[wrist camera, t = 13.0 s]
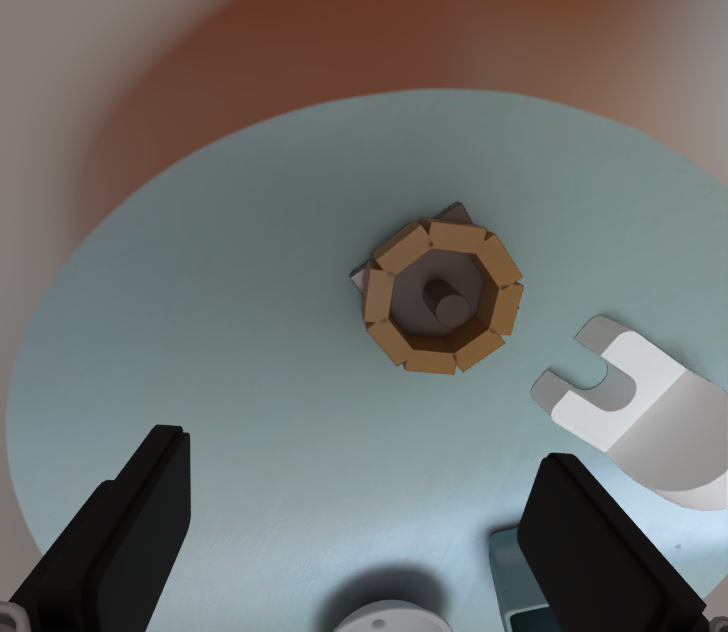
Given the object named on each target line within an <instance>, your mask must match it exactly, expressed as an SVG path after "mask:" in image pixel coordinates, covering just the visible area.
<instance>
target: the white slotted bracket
mask: <svg viewBox="0 0 728 632" xmlns="http://www.w3.org/2000/svg"><path fill="white" fill-rule="evenodd" d="M574 339H576V340H577V341H579V342H580V343H582V344H583V345H585V346H586V347H588V348H589V349H591V350H592V351H593V352H595V353H596V354H598V355H599V356H601V357H602V358H603V359H604V360H605V361H606V363H607V365H608V372H607V375H606V377H605V379H604V380H603V382H602V383H600V384H599V385H598V386H596V387H595V388H592V389H589V390H580V389H577V388H575V387H574V386H572V385H571V384H569V383H567V382H566V381H564V380H563V379H561V378H560V377H558V376H557V375H555V374H553V373H552V372H550V371H549V370H546V372H545V373H544V374H543V375H542V376H541V377H540V378H539V380H538V381H537V382H536V383H535V384H534V386H533V387H532V390H531V395H532V397H533V399H534V400H535V401H536V402H537V403H538V404H539V405H540V406H541V408H542V409H543V410H544V411H545V412H546V413H547V414H548V415H549V417H550V418H551V419H552V420H553V421H554V422H555V423H557V424H558V425H560V426H562V427H563V428H565V429H567V430H568V431H570V432H572V433H573V434H575V435H577V436H578V437H580V438H582V439H583V440H585V441H587V442H588V443H590V444H591V445H593V446H595V447H596V448H598V449H600V450H601V451H603V452H605V453H606V454H607V455H608V456H609V457H610V458H611V459H612V460H613V461H614V462H615V463H616V464H617V465H618V467H619V468H620V469H621V470H622V471H623V472H625V473H626V474H627V475H628V476H630V477H631V478H632V479H633V480H635V481H636V482H638V483H639V484H641V485H643V486H644V487H646V488H648V489H649V490H651V491H653V492H654V493H656V494H658V495H659V496H661V497H663V498H664V499H666V500H668V501H670V502H673V503H675V504H677V505H679V506H682V507H685V508H690V509H695V510H700V511H709V510H723V509H727V508H728V394H727V393H726V392H725V391H723V390H722V389H720V388H719V387H718V386H716V385H715V384H713V383H712V382H710V381H708V380H706V379H704V378H702V377H700V376H699V375H697V374H695V373H693V372H691V371H689V370H687V369H686V368H685V367H683V366H682V365H680V364H679V363H678V362H676V361H675V360H674V359H672V358H671V357H669V356H668V355H667V354H665V353H664V352H663V351H661V350H660V349H658V348H657V347H656V346H654V345H653V344H652V343H650V342H649V341H647V340H646V339H645V338H643V337H642V336H641V335H639V334H638V333H636V332H634V331H632V330H630V329H628V328H626V327H624V326H622V325H620V324H618V323H616V322H614V321H612V320H610V319H608V318H606V317H604V316H597V317H594V318H593V319H591V320H590V321H589V322H588V323H587V324H586V325H585V327H584V328H583V329H582V330H581V331H580V332H579V333H578V335H577V336H576V337H575V338H574Z"/></svg>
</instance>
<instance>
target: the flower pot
mask: <svg viewBox="0 0 728 632" xmlns="http://www.w3.org/2000/svg"><path fill="white" fill-rule="evenodd" d="M517 529H518V528H513V529H509V530H504V531H500V532H496V533H494V534H492V536H491V540H490V545H489V559H490V566H491V571H492V576H493V581H494V585H495V590H496V595H497V600H498V605H499V610H500V615H501V619H502V623H503V627H504V631H505V632H562V631H561V629H560V627H559V625H558V623H557V621H556V619H555V617H554V615H553V613H552V611H551V609H550V607H549V605H548V603H547V601H546V599H545V597H544V595H543V593H542V591H541V589H540V587H539V585H538V583H537V581H536V579H535V577H534V575H533V573H532V571H531V569H530V567H529V565H528V563H527V561H526V559H525V557H524V555H523V553H522V551H521V549H520V547H519V545H518V542H517Z"/></svg>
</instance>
